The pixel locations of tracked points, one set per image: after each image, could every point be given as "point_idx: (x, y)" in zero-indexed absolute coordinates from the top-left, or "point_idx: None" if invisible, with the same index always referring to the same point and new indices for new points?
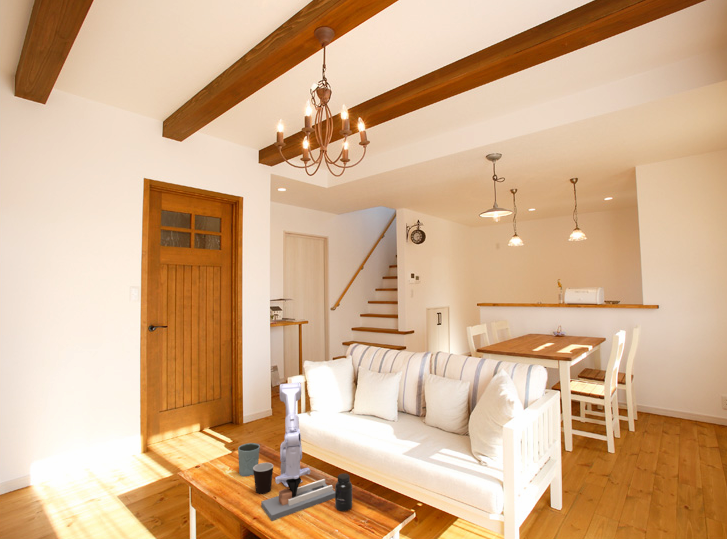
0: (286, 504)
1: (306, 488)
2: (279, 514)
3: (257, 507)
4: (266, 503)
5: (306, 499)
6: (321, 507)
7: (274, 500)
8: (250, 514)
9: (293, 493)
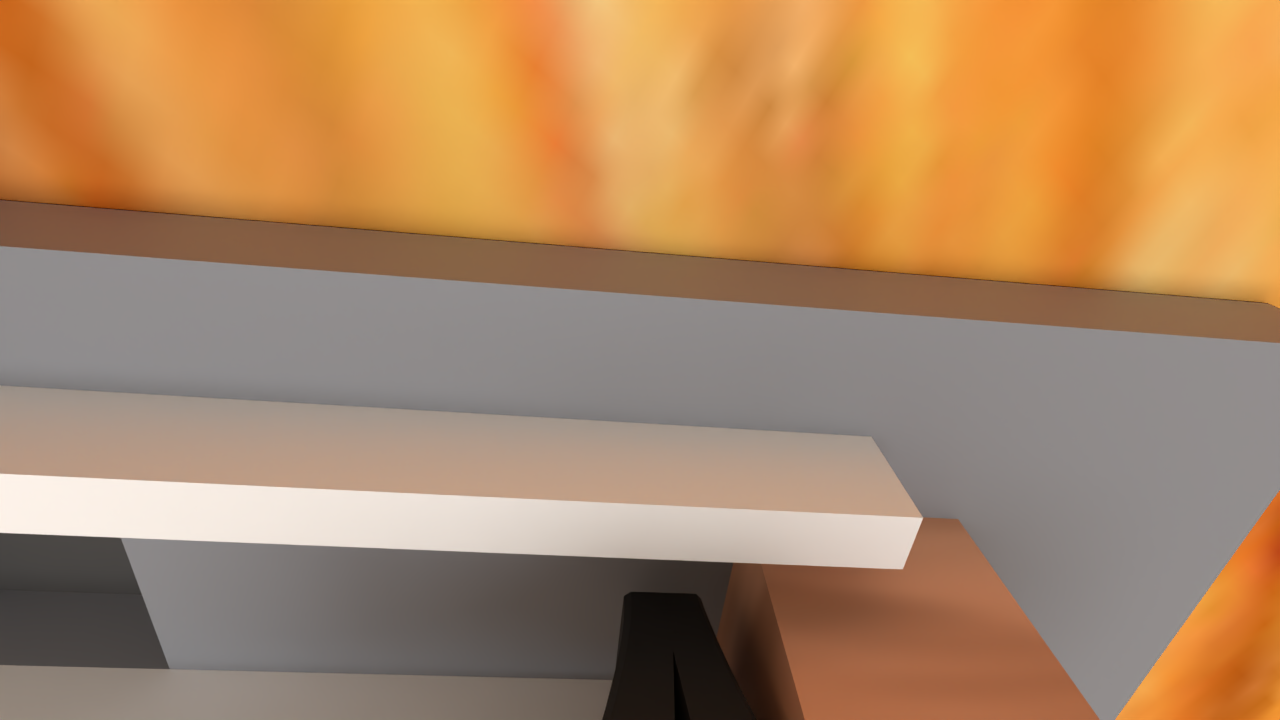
0: None
1: (265, 715)
2: (1172, 321)
3: None
4: None
5: (418, 415)
6: (146, 14)
7: None
8: (1254, 634)
9: (711, 677)
